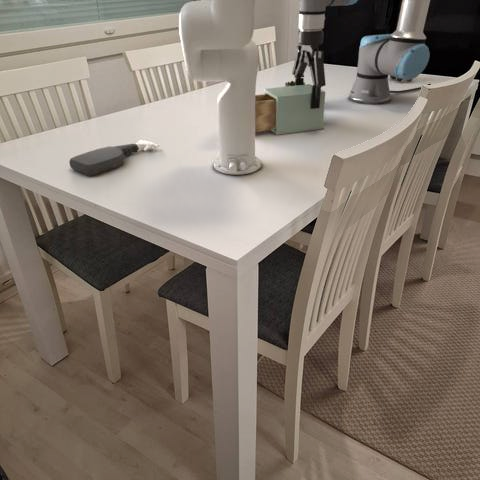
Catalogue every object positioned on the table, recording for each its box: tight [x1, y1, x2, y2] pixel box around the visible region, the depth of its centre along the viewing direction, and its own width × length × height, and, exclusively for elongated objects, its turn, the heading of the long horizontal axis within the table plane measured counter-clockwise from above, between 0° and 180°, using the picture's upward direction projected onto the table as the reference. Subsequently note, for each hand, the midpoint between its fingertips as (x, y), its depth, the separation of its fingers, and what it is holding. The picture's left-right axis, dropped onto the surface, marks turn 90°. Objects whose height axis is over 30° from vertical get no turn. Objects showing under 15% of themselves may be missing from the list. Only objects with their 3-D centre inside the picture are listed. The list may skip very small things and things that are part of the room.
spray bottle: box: [68, 139, 160, 177], centre depth 124 cm, size 3×11×24 cm
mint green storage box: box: [263, 83, 326, 136], centre depth 144 cm, size 16×11×12 cm
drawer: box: [255, 93, 276, 133], centre depth 141 cm, size 21×10×10 cm, turn 108°
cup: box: [284, 80, 306, 87], centre depth 167 cm, size 8×7×8 cm
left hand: (235, 83), depth 134 cm, fingers closed
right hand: (306, 103), depth 144 cm, fingers open, 12 cm apart
